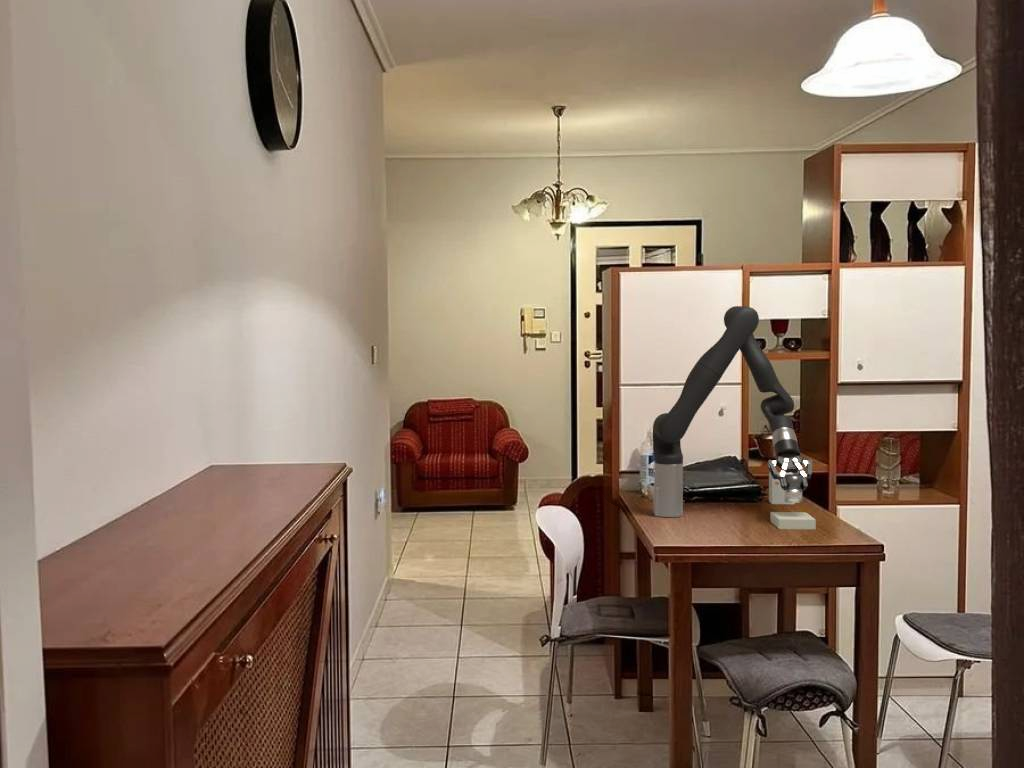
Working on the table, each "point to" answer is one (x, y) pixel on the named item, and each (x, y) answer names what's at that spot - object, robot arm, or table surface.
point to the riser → (793, 520)
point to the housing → (793, 488)
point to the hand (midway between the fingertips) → (795, 488)
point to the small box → (777, 491)
